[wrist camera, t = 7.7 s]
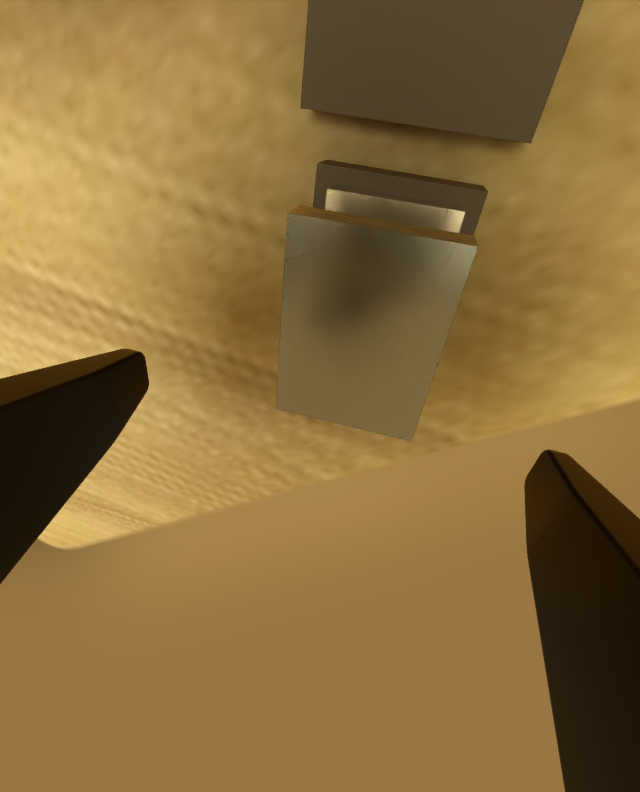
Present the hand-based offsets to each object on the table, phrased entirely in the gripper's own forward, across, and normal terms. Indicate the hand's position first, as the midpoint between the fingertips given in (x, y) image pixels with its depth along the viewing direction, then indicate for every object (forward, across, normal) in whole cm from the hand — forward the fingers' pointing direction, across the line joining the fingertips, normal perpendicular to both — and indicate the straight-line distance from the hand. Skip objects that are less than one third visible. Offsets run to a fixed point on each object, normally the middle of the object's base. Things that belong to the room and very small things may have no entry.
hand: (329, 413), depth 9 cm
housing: (+8, 0, 0) cm, 9 cm away
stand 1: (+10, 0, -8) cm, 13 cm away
